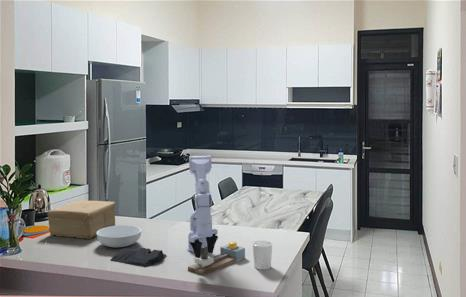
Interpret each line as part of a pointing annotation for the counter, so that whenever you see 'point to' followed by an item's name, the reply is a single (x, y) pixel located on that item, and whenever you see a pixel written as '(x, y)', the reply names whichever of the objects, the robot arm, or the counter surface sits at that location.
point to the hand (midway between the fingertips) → (204, 255)
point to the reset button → (232, 245)
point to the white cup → (262, 254)
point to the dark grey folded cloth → (139, 257)
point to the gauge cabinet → (233, 252)
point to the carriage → (204, 257)
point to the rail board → (213, 264)
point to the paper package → (81, 218)
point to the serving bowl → (119, 235)
